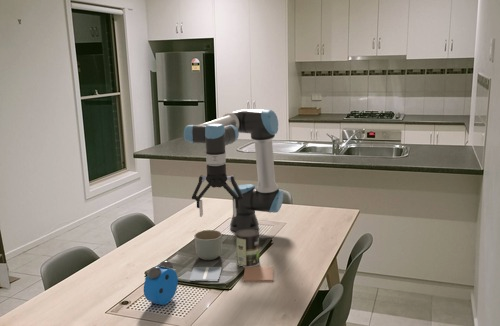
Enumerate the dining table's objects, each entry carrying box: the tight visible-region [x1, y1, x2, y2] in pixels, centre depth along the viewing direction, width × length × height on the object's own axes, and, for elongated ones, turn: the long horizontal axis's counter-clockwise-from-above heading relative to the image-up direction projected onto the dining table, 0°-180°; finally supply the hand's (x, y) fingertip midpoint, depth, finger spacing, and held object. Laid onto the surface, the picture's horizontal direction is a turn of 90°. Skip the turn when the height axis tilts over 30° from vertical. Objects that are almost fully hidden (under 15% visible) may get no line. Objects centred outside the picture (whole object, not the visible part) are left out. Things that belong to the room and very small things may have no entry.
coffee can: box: [234, 229, 261, 268], centre depth 203 cm, size 10×10×14 cm
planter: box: [194, 229, 223, 261], centre depth 210 cm, size 12×12×11 cm
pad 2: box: [243, 266, 274, 283], centre depth 192 cm, size 12×12×1 cm
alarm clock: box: [143, 260, 179, 306], centre depth 171 cm, size 13×6×15 cm, turn 152°
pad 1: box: [188, 266, 223, 281], centre depth 193 cm, size 12×12×1 cm
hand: (218, 215), depth 186 cm, fingers open, 13 cm apart
